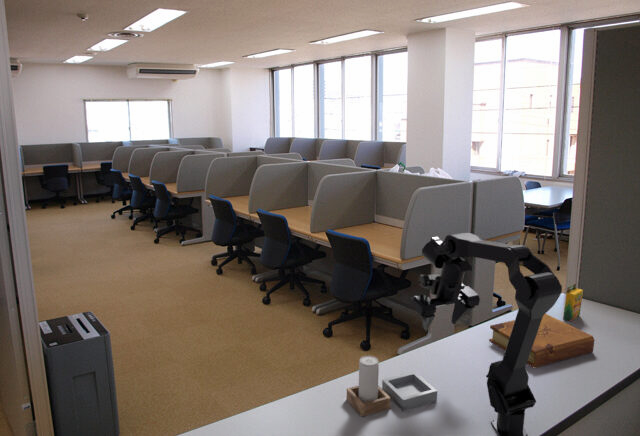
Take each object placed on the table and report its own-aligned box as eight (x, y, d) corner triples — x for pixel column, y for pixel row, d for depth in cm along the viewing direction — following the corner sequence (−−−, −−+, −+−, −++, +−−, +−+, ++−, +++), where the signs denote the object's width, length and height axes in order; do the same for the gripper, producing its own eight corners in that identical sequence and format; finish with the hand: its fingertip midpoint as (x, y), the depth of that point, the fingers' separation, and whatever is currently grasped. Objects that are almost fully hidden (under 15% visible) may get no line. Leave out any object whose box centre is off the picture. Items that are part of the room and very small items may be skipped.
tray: (436, 401, 126) (437, 390, 125) (403, 411, 122) (403, 400, 122) (414, 381, 135) (414, 371, 134) (382, 389, 131) (382, 379, 130)
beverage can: (365, 396, 129) (366, 353, 126) (381, 402, 126) (382, 359, 123) (354, 404, 125) (355, 361, 122) (370, 412, 122) (371, 367, 119)
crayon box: (571, 321, 171) (575, 289, 168) (562, 319, 173) (566, 287, 171) (580, 315, 176) (584, 284, 173) (571, 313, 178) (575, 282, 175)
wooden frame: (390, 408, 123) (390, 397, 123) (361, 416, 120) (361, 405, 119) (374, 391, 130) (374, 381, 130) (346, 399, 127) (346, 388, 127)
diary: (535, 370, 141) (536, 352, 140) (489, 342, 158) (490, 325, 157) (592, 354, 150) (595, 336, 149) (543, 328, 167) (545, 312, 166)
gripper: (460, 257, 139) (449, 303, 146) (404, 266, 132) (394, 314, 138) (487, 278, 130) (473, 326, 137) (428, 289, 123) (417, 340, 129)
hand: (439, 326), depth 136 cm, fingers open, 9 cm apart
